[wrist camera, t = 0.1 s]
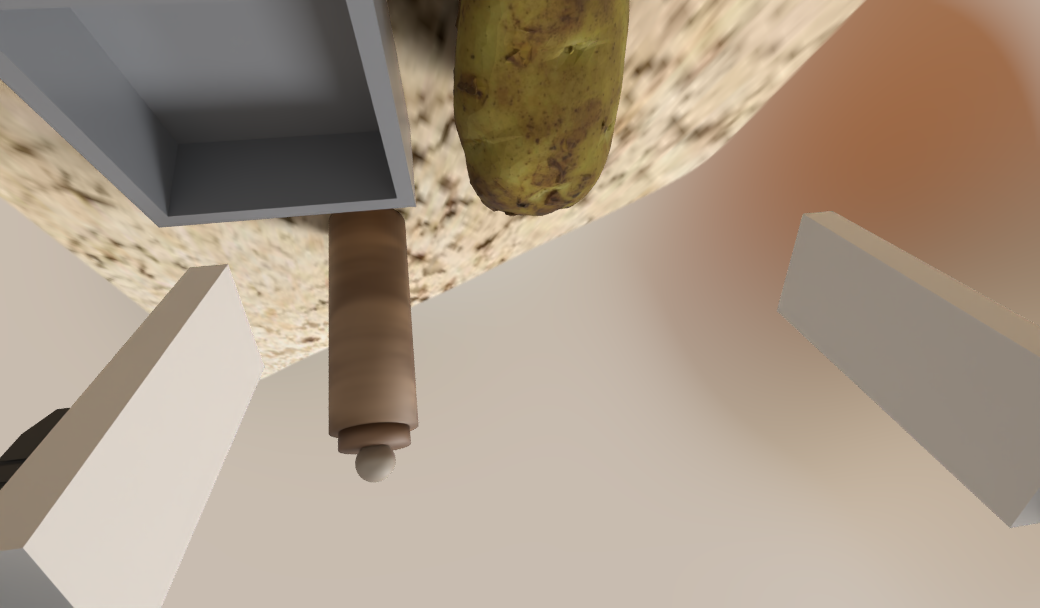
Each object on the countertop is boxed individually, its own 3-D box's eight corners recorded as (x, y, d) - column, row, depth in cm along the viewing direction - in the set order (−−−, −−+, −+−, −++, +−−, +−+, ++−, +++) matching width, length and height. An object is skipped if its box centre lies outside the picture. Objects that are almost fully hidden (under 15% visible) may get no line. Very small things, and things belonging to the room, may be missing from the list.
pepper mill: (319, 206, 33) (317, 484, 27) (399, 200, 34) (416, 471, 27) (339, 245, 38) (341, 491, 31) (409, 239, 38) (425, 479, 32)
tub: (-48, -129, 16) (-101, -15, 14) (362, -132, 17) (366, -30, 15) (171, 143, 27) (159, 227, 25) (409, 127, 28) (416, 206, 26)
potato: (708, -130, 19) (783, 30, 16) (554, 123, 29) (580, 247, 26) (487, -231, 15) (527, -53, 12) (404, 95, 26) (414, 234, 23)
